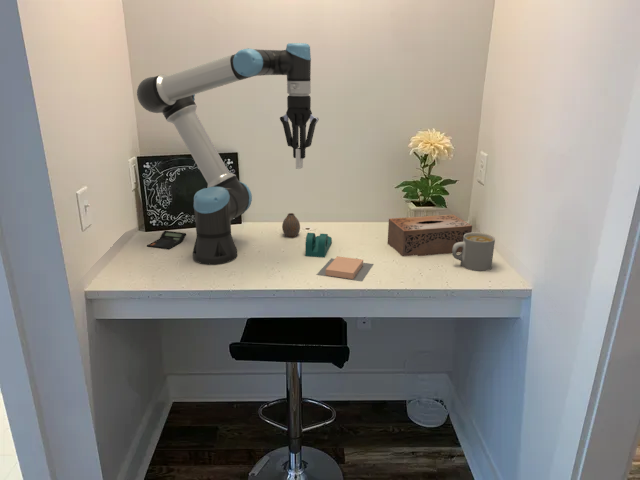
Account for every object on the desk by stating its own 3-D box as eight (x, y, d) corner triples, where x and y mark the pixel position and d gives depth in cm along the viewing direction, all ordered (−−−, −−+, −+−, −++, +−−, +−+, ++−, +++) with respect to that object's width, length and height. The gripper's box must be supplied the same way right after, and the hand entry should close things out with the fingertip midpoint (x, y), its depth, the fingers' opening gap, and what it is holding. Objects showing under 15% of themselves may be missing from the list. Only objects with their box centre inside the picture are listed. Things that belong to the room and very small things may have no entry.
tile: (337, 262, 170) (325, 275, 159) (337, 256, 169) (325, 269, 158) (363, 265, 167) (353, 279, 156) (363, 259, 166) (353, 273, 155)
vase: (280, 233, 199) (280, 212, 196) (297, 232, 201) (297, 210, 198) (284, 239, 192) (284, 217, 190) (302, 237, 194) (302, 215, 192)
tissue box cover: (402, 258, 175) (403, 230, 172) (387, 244, 189) (388, 218, 185) (469, 252, 181) (472, 225, 178) (450, 239, 194) (452, 214, 191)
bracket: (324, 259, 174) (324, 237, 171) (305, 257, 175) (305, 236, 172) (333, 241, 191) (333, 222, 188) (315, 240, 192) (315, 220, 189)
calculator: (147, 247, 184) (146, 239, 183) (165, 237, 194) (165, 230, 193) (169, 250, 181) (168, 242, 180) (186, 240, 192) (186, 232, 191)
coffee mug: (488, 260, 173) (491, 233, 170) (493, 271, 164) (497, 243, 160) (448, 258, 175) (451, 231, 171) (451, 269, 165) (454, 240, 162)
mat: (316, 275, 160) (316, 274, 160) (331, 259, 173) (331, 258, 173) (362, 282, 155) (362, 281, 155) (373, 265, 168) (373, 264, 168)
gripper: (275, 95, 160) (277, 168, 168) (314, 96, 156) (313, 171, 164) (284, 93, 167) (285, 164, 174) (322, 94, 162) (321, 167, 170)
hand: (299, 167), depth 169 cm, fingers closed
